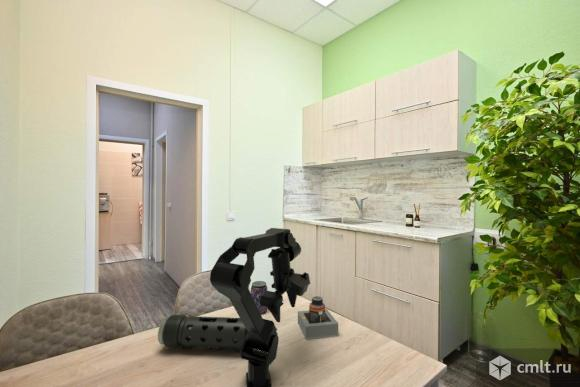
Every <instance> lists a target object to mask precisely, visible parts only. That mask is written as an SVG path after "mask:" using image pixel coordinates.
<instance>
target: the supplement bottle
mask: <svg viewBox="0 0 580 387" xmlns="http://www.w3.org/2000/svg"><path fill="white" fill-rule="evenodd" d="M308 307H309V308H308V310H309V324H312V323H322V322H325V309H326V304H325V303H324V299H323V297H322V296H319V295H314V296H312V297H311V302H310V303H309V305H308Z"/></svg>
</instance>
